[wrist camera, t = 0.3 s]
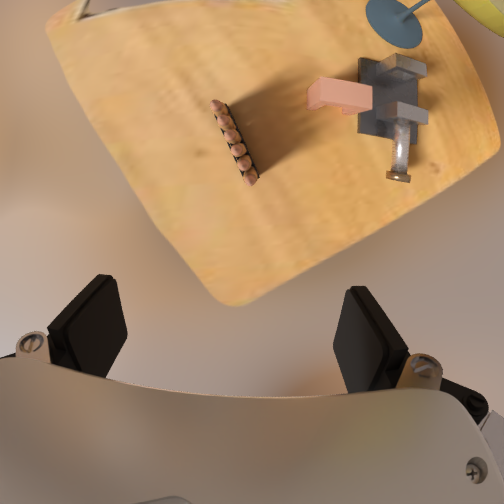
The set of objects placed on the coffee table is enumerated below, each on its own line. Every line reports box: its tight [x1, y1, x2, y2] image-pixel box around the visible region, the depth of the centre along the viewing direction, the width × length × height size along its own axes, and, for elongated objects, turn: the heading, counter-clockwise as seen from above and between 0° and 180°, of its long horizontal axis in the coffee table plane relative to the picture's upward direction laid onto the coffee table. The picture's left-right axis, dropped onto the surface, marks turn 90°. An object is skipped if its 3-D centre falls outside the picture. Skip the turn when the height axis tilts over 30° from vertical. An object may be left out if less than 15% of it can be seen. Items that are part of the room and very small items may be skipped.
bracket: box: [357, 53, 428, 144], centre depth 29 cm, size 12×10×8 cm
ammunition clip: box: [210, 100, 260, 186], centre depth 30 cm, size 11×2×12 cm, turn 24°
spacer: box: [307, 77, 372, 115], centre depth 29 cm, size 3×6×8 cm, turn 88°
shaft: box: [386, 118, 411, 183], centre depth 31 cm, size 9×4×4 cm, turn 178°
